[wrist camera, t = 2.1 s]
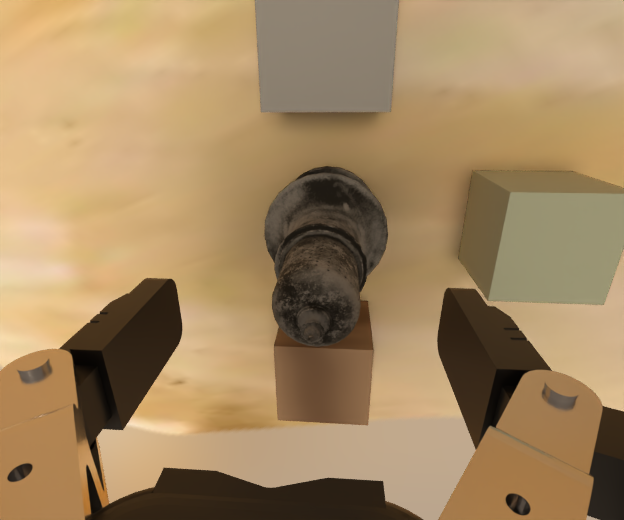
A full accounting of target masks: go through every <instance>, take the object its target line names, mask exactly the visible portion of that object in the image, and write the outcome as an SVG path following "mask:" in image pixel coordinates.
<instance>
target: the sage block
mask: <svg viewBox="0 0 624 520" xmlns="http://www.w3.org/2000/svg"><path fill="white" fill-rule="evenodd" d="M623 249H624V188H622V187H619V186H616V185H613V184H610V183H607V182H604V181H601V180H598V179H595V178H592V177H589V176H586V175H582V174H579V173H576V172H573V171H483V170H473V171H472V177H471V183H470V189H469V196H468V202H467V208H466V214H465V220H464V226H463V232H462V238H461V245H460V251H459V257H458V259H459V260H460V262H461V263H462V265H463V266H464V267H465V269H466V270H467V272H468V273H469V275H470V276H471V277H472V279H473V280H474V282H475V283H476V284H477V286H478V287H479V289H480V290H481V292H482V293H483V294H484V296H485V297H486V299H487V300H488V301H505V302H534V303H563V304H592V305H604V303H605V300H606V297H607V294H608V292H609V289H610V286H611V283H612V280H613V277H614V274H615V271H616V269H617V266H618V263H619V260H620V257H621V254H622V251H623Z"/></svg>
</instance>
